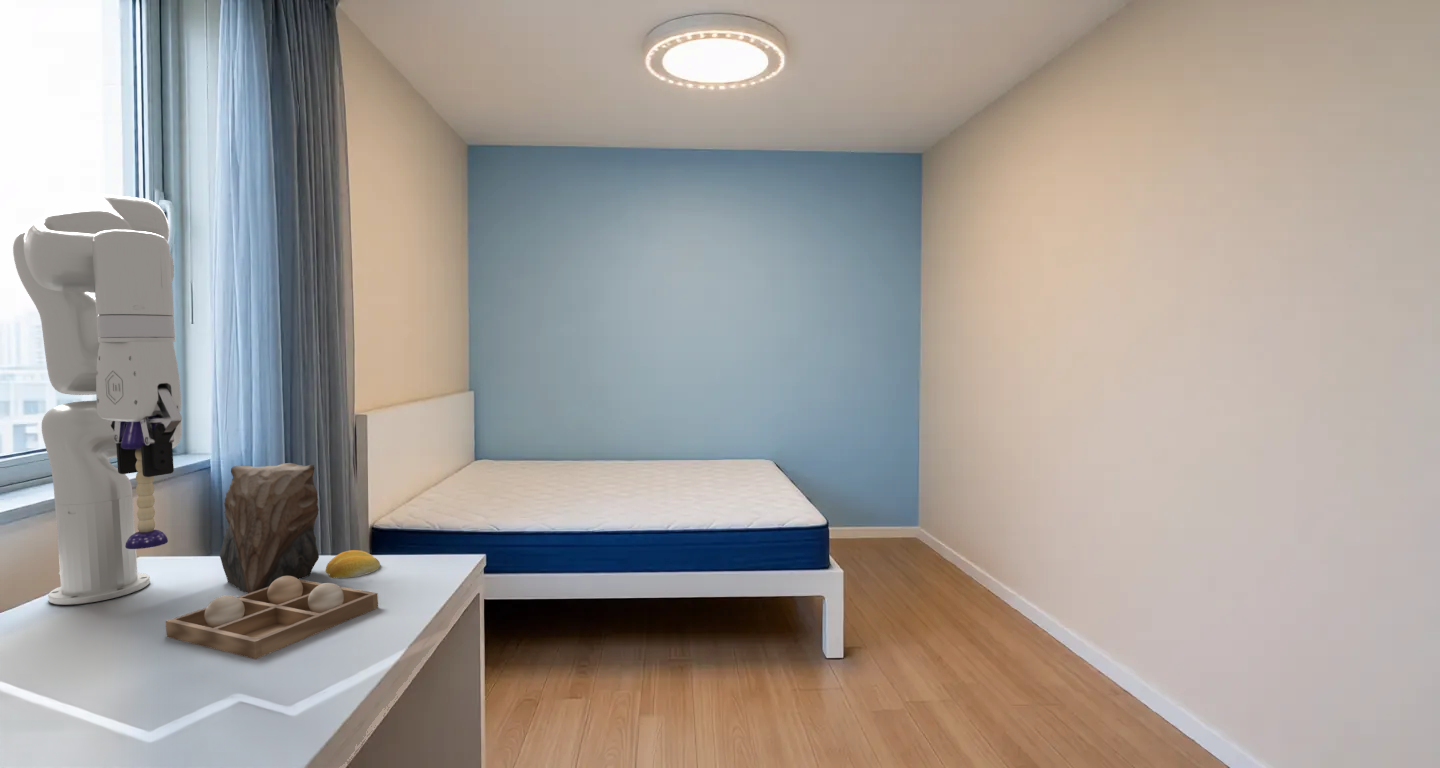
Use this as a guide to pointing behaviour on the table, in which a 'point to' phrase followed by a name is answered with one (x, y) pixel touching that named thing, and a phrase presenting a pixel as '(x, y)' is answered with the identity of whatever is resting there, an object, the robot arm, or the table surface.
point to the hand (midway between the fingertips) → (146, 472)
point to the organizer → (269, 622)
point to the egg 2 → (284, 590)
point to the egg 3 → (325, 597)
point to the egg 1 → (224, 610)
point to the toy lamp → (142, 493)
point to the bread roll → (352, 564)
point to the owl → (269, 525)
